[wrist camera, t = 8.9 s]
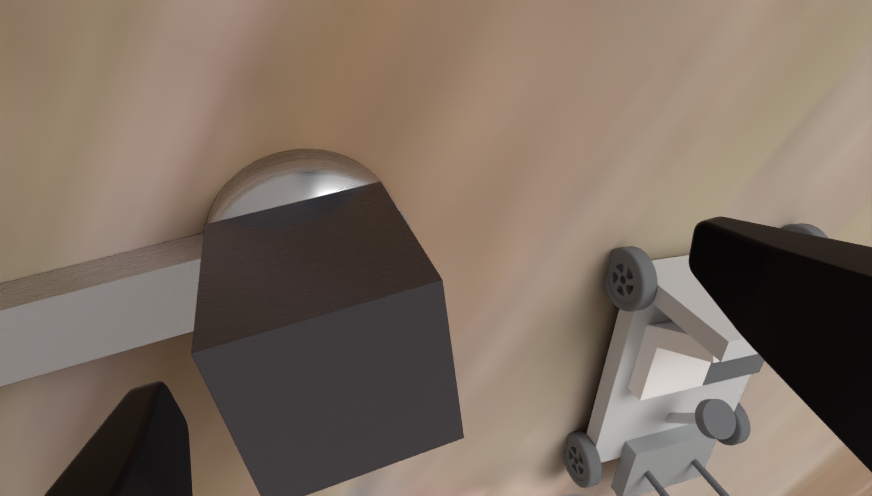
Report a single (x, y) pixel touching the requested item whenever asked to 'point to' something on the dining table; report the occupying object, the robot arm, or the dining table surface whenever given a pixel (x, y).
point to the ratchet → (147, 276)
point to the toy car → (664, 379)
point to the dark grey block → (324, 340)
